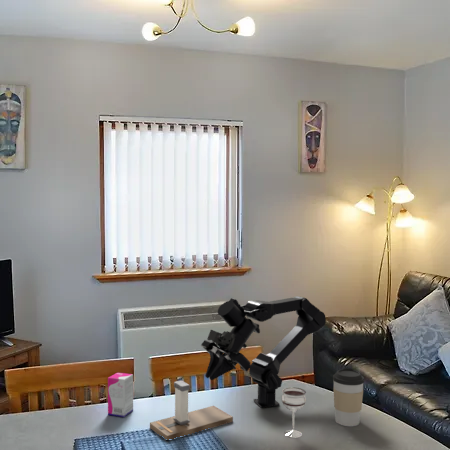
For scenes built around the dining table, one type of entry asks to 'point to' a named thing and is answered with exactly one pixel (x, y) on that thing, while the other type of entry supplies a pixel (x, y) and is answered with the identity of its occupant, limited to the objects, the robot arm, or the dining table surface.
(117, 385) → the supplement box
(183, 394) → the lever
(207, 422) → the wooden board
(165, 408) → the dining table surface
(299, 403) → the wineglass
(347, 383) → the coffee cup
